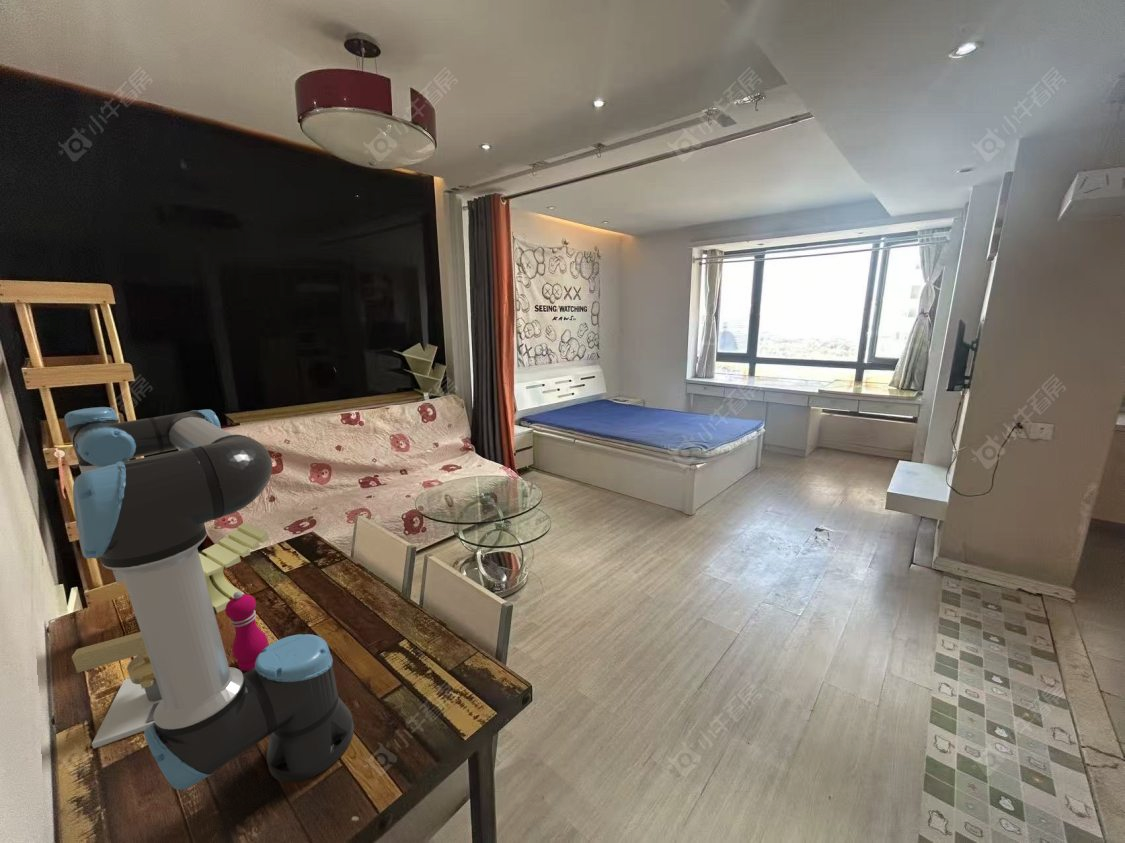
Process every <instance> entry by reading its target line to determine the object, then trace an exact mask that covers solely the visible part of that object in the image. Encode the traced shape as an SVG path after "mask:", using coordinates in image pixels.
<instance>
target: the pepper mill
mask: <svg viewBox="0 0 1125 843" xmlns="http://www.w3.org/2000/svg"><path fill="white" fill-rule="evenodd" d="M240 591H241V590H240ZM240 591H238V592H235V593H234V595H233V597H234V598H233V599H231V600H230V601H229V602H228V603H227V605H226V608H225V609H224V610H225V613H224V614H225V616H227V618H229V619H230V620H229V621H230V624H231V626H232V627H234V631H235V633H234V635H235V637H234V640H233V644H232V656H233V658H234V659H235V660H237V666H238V669H239V670H240V671H244V672H245V671H246V672H248V671H250V670H251V669H253V668H255V662H256V659H257V657H258V655H259V654H260V653H262V651H263V650H264V649H265V648H266V647H267V646H269V639H268V636H267V635H266V633H265V632H263V630H261V629H260V628H259V626H258V625H257V622H256V618H257V613H256V610H255V609H256V607H257V602H256V598H254V596H252V595H251V594H242V592H243V591H242V592H240Z"/></svg>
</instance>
